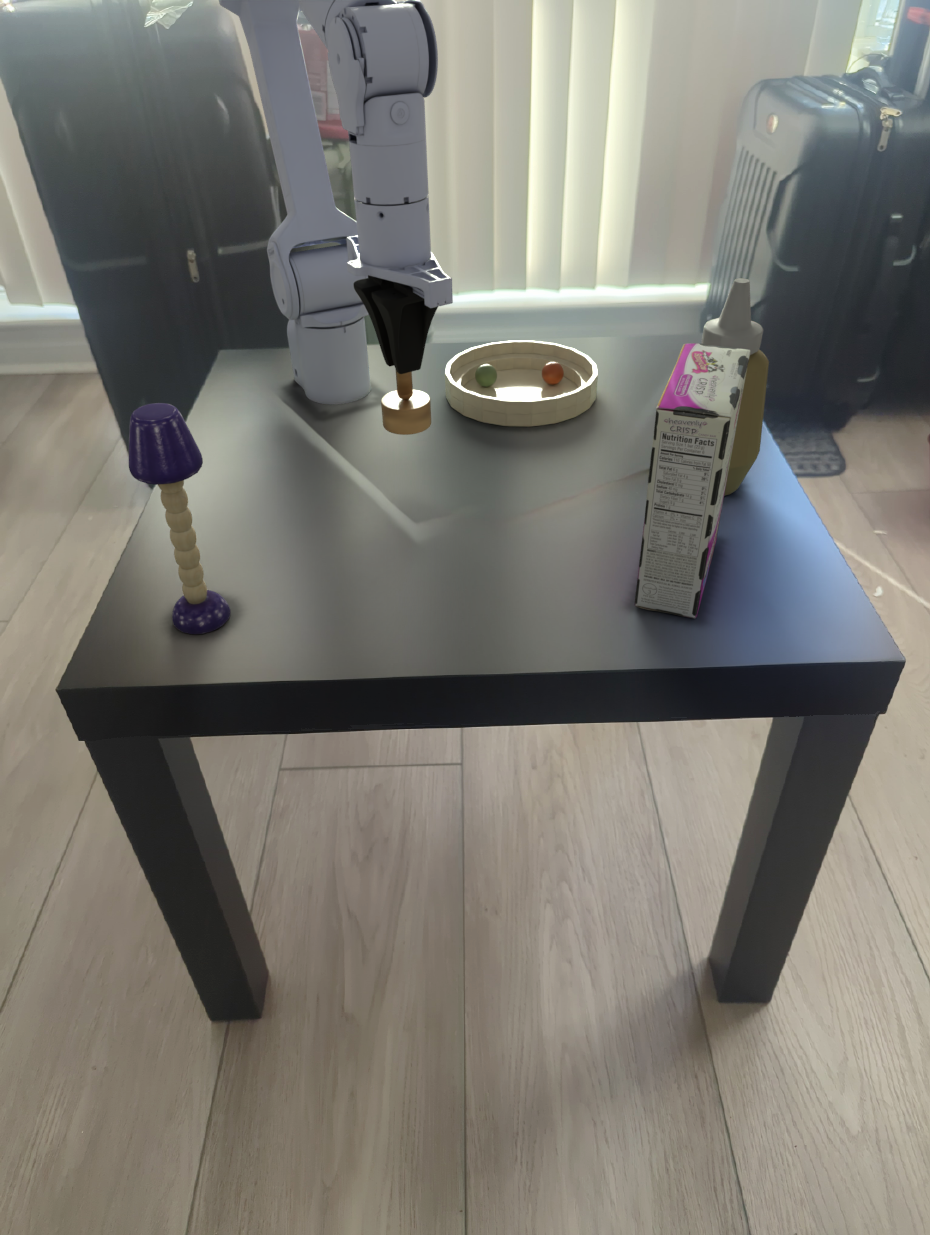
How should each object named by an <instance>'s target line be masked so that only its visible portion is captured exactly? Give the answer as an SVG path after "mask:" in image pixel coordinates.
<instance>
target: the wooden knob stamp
mask: <svg viewBox="0 0 930 1235" xmlns="http://www.w3.org/2000/svg"><path fill="white" fill-rule="evenodd" d="M394 369H395V368H394ZM395 381H396V390H392V391H389V392H387V393H386V394H384V395H383V396H381V399H380V407H381V420H382V426H383V428H384V430H385V431H387V432H389V433H391V434H394V435H400V436H401V435H402V436H409V435H416V434H420V433H423V432H424V431H427V430H428V429H430V427H431V425H432V406H431V397H430V395H429V394H428V393H427V392H425V391H422V390H419V389H414V386H413V385H414V384H413V371H412V372H408V373H405V374H399V373H398V372H397V371H396V369H395Z"/></svg>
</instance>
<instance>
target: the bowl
mask: <svg viewBox="0 0 930 1235" xmlns="http://www.w3.org/2000/svg"><path fill="white" fill-rule="evenodd" d="M549 362H557V363H559V364H560V365H561V366H562V368H563V370H564V375H563V378H562V380H561V381H560V382H559V383H557V384H554V385H550V384H548V383H546V382H545V381H544V380H543V378H542V369H543V367H544V366H545V365H546V364H547V363H549ZM483 364H489V365H492V366H493V367H494V368H495V369H496V372H497V379H496V381H495V383H494V384H493V385H491V386H489V387H483V386H481V385H479V384H478V383H477V381H476V379H475V372H476V370H477V368H478V367H479V366H481V365H483ZM598 379H599V374H598V365H597V363H596V362H595V361H594V360H593V359H592V358H591V357H590V356H589V355H588V354H585V353H583V352H582V351H579V350H578V349H576V348H574V347H570V346H567V345H562V344H559V343H555V342H548V341H541V340H504V341H495V342H488V343H485V344H481V345H477V346H473V347H469V348H468V349H465V350H464V351H462V352H459V353H457V354H456V355H454V356H453V357H452V358H451V359H450V360H449V361H448V362H447V363H446V366H445V371H444V387H445V390H444V392H445V398H446V400H447V402H448V404H449V405H450V407H451V408H452V409H454V410H455V411H456V412H458V413H459V414H461V415H462V416H464V417H466V418H469V419H472V420H475V421H478V422H480V423H484V424H489V425H490V424H491V425H496V426H503V427H539V426H547V425H553V424H554V425H555V424H558V423H561V422H564V421H568V420H571V419H574V418H577V417H578V416H580V415H581V414H583V413H585V412H587V411H588V410H589V409H590V408H591V407H592V405H593V404H594V402H595V401H596V399H597V392H598V391H597V389H598Z"/></svg>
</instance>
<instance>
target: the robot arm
mask: <svg viewBox="0 0 930 1235" xmlns="http://www.w3.org/2000/svg"><path fill="white" fill-rule="evenodd" d="M218 4H219V5H220V6H221V7H222V8H224V9H225V10H228V12H230V13H233V14H234V15H236V16H237V17H238V18H239V22H240V25H241V28H242V30H243V34H244V36H245V39H246V42H247V46H248V50H249V54H250V58H251V63H252V66H253V71H254V75H255V80H256V84H257V88H258V92H259V96H260V101H261V106H262V110H263V114H264V118H265V123H266V128H267V132H268V136H269V141H270V145H271V150H272V154H273V157H274V162H275V166H276V171H277V174H278V175H277V176H278V179H279V184H280V188H281V192H282V196H283V201H284V206H285V210H286V214H287V215H286V216H285V218H284V219H283V221H282V222H281V223H280V224H279V225H278V226H277V228H276V229H275V230H274V231H273V232H272V233H271V235H270V237H269V238H268V242H267V246H266V247H267V248H266V252H267V258H268V261H269V276H270V284H271V288H272V292H273V296H274V299H275V302H276V305H277V308H278V310H279V311H280V313H281V314H282V315H283V316H285V317H286V319H288V321H287V326H286V336H287V342H288V343H287V344H288V349H289V356H290V363H291V367H292V368H291V369H292V374H293V381H295V383H297V384H298V385H299V386H300V387H301V388H302V389H303V390H304V394H305V397H307V399H309V400H310V401H312V402H315V403H319V404H323V405H342V404H349V403H354V402H357V401H359V400H361V399H364V398H365V397H366V396H368V395H369V394H370V392H371V391H372V382H371V373H370V362H369V352H368V343H367V342H368V340H367V330H366V321H365V320H366V319H365V317H367V316H369V318H370V321H371V323H372V327H373V329H374V331H375V335H376V338H377V341H378V344H379V348H380V351H381V354H382V357H383V360H384V362H385V364H386V365H387V366H388V367H394V369H396V370H395V372H396V371H397V372H398V373H399V374H405V373H408V372H412V373H413V372H416V371H419V370H421V368H422V364H423V361H424V360H423V359H424V355H425V354H424V353H425V348H426V343H427V339H428V334H429V331H430V327H431V325H432V321H433V319H434V317H435V314H436V312H437V310H438V308H439V307H444V306H447V305H451V304H453V303H454V300H453V297H454V296H453V295H454V294H453V277H451V276H449V275H447V273H446V272H444V270H443V268H442V267H441V265H440V263H439V261H438V260H437V258H436V256H435V255H434V253H433V252H432V245H431V244H432V243H431V218H430V192H429V173H428V172H429V171H428V148H427V126H426V125H427V124H426V123H427V122H426V104H425V103H426V101H425V98H428V97H429V96H430V95H432V93H433V91H434V89H435V86H436V83H437V79H438V78H437V77H438V70H439V53H438V42H437V36H436V31H435V27H434V24H433V20H432V18H431V16H430V14H429V11H427V9H426V7H425V4H424V3H423V1H421V0H397V1H396V0H218ZM301 12H302V14H303V15H304V17H305V18H306V20H307V21H308V23H309V24H310V26H311V27H312V29H313V30H314V32H315V33H316V35H317V36H318V38H319V39H320V40H321V42H322V43H323V45H324V46H325V48H326V50H327V60H328V67H329V72H330V77H331V80H332V85H333V88H334V91H335V94H336V98H337V103H338V112H339V120H340V121H341V127H342V129H343V130H345V131H346V132H347V135H348V136H347V137H348V146H349V156H350V166H351V167H350V168H351V178H352V189H353V197H354V198H353V199H354V211H355V219H353V218H352V217H351V216H349V215H347V214H346V213H344V212H343V211H341V210H340V209H339V208H337V207H336V202H335V198H334V194H333V188H332V184H331V183H332V182H331V180H330V175H329V174H330V173H329V169H328V165H327V160H326V156H325V155H326V154H325V151H324V146H323V142H322V136H321V132H320V127H319V122H318V117H317V113H316V108H315V104H314V98H313V94H312V88H311V84H310V80H309V75H308V69H307V65H306V61H305V56H304V50H303V46H302V42H301V37H300V31H299V28H298V18H299V15H300V13H301ZM329 243H335V244H336V243H337V244H336V245H331V246H330V245H329V246H325V247H318V248H311V249H306V250H305V249H304V250H299V251H293V252H291V251H292V250H293V249H298V248H304V247H310V246H316V245H322V244H329Z"/></svg>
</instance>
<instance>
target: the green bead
mask: <svg viewBox="0 0 930 1235" xmlns="http://www.w3.org/2000/svg"><path fill="white" fill-rule="evenodd" d="M475 379H476V381H477V383H478V384H479V385H481V386H483V387H489V386H491V385H493V384H494V383H495V381H496V379H497V372H496V369H495V368H494V367H493V366H492V365H489V364H483V365H481V366H479V367H478V368H477V370H476V372H475Z"/></svg>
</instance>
